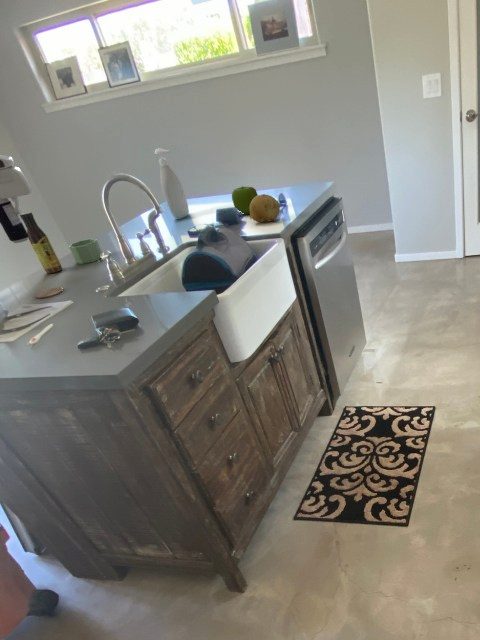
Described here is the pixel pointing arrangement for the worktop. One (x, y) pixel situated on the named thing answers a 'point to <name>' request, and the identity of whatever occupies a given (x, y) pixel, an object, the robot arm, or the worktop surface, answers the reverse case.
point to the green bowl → (86, 251)
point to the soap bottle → (172, 188)
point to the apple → (243, 198)
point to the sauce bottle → (41, 244)
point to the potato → (264, 208)
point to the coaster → (49, 292)
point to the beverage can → (12, 222)
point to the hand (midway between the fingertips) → (7, 216)
